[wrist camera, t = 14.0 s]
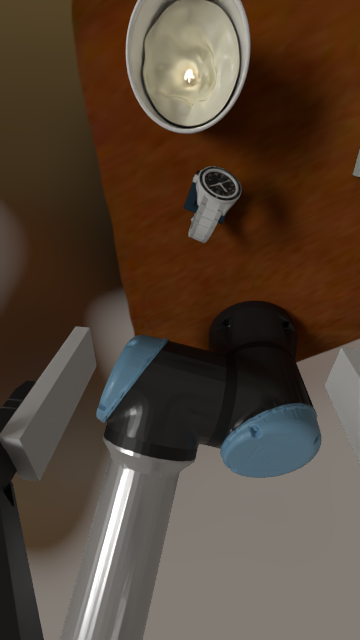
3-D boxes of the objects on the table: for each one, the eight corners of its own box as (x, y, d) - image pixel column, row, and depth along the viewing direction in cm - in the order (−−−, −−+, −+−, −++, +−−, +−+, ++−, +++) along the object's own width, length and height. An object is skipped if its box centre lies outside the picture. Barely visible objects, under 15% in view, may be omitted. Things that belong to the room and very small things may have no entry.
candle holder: (147, 123, 35) (121, 120, 25) (158, 10, 29) (130, -54, 19) (224, 140, 35) (230, 144, 25) (250, 31, 29) (269, -21, 19)
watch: (241, 172, 37) (252, 185, 27) (215, 230, 41) (216, 258, 32) (202, 154, 36) (199, 162, 27) (180, 214, 40) (170, 239, 31)
